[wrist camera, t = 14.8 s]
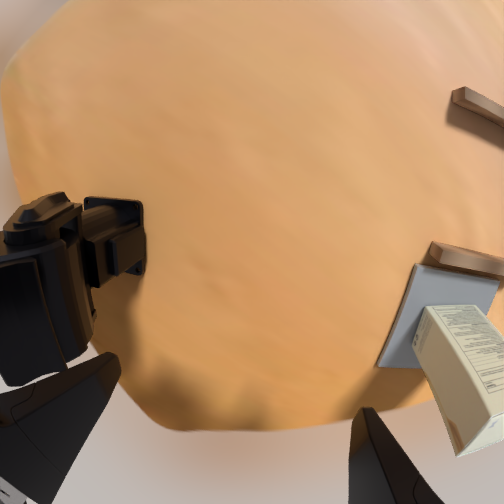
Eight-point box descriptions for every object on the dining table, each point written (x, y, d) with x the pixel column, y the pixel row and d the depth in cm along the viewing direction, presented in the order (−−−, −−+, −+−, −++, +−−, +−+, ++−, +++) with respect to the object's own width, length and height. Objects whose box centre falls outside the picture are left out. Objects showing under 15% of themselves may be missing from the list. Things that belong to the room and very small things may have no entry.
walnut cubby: (428, 253, 18) (439, 263, 16) (452, 90, 13) (465, 86, 12) (512, 271, 17) (523, 280, 15) (536, 138, 12) (549, 139, 10)
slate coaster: (376, 362, 22) (378, 366, 22) (415, 263, 18) (417, 266, 18) (456, 364, 21) (458, 368, 20) (497, 278, 17) (500, 281, 17)
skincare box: (409, 345, 20) (449, 461, 9) (423, 303, 19) (488, 418, 7) (463, 342, 19) (513, 437, 8) (479, 303, 18) (547, 394, 6)
